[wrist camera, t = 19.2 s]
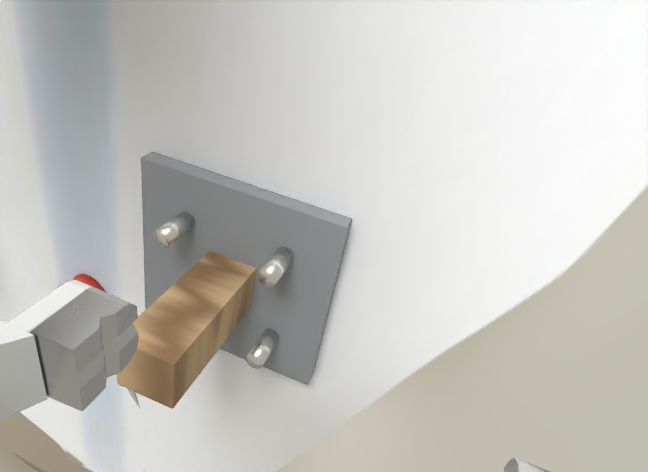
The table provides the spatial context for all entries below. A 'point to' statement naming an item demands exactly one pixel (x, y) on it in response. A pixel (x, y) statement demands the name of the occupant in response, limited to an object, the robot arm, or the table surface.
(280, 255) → the standoff pins
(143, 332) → the oak block
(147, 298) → the plate
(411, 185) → the table surface
